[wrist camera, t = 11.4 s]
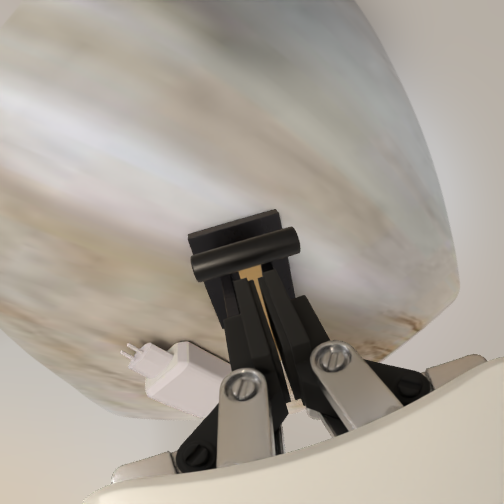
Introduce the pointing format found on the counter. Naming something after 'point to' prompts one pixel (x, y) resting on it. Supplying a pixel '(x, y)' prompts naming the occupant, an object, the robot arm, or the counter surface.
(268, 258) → the tap lever
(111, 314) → the counter surface
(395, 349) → the counter surface
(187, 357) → the charger
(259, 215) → the bracket
